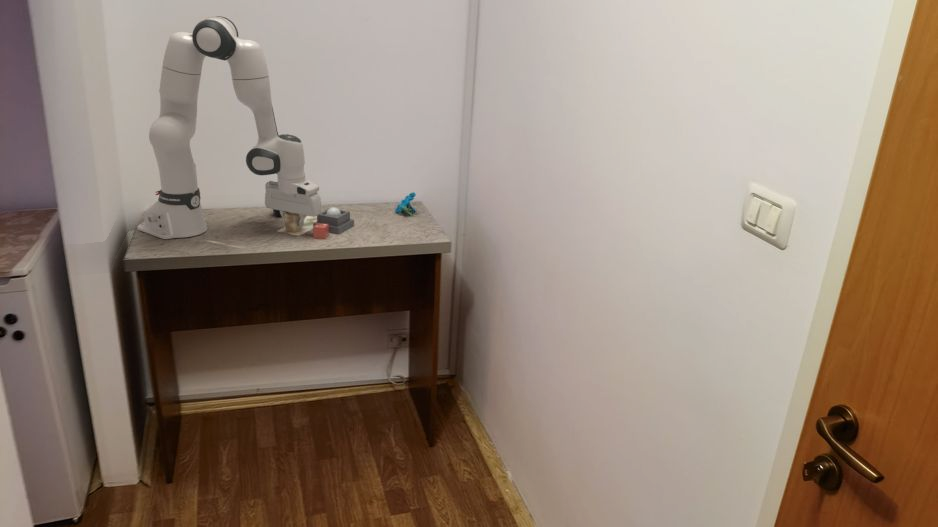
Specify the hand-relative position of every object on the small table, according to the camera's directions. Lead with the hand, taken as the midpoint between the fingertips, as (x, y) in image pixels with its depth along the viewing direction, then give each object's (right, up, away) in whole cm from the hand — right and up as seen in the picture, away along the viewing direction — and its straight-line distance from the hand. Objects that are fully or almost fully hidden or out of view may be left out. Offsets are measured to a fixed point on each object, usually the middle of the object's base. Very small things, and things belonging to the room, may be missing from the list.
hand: (293, 224), depth 239 cm
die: (+10, -4, -3) cm, 11 cm away
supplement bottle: (-8, +4, +16) cm, 18 cm away
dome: (+13, +1, +4) cm, 13 cm away
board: (+7, -1, +6) cm, 9 cm away
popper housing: (+13, -1, +6) cm, 14 cm away
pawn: (0, -2, +1) cm, 2 cm away
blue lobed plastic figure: (+35, +6, +26) cm, 44 cm away
